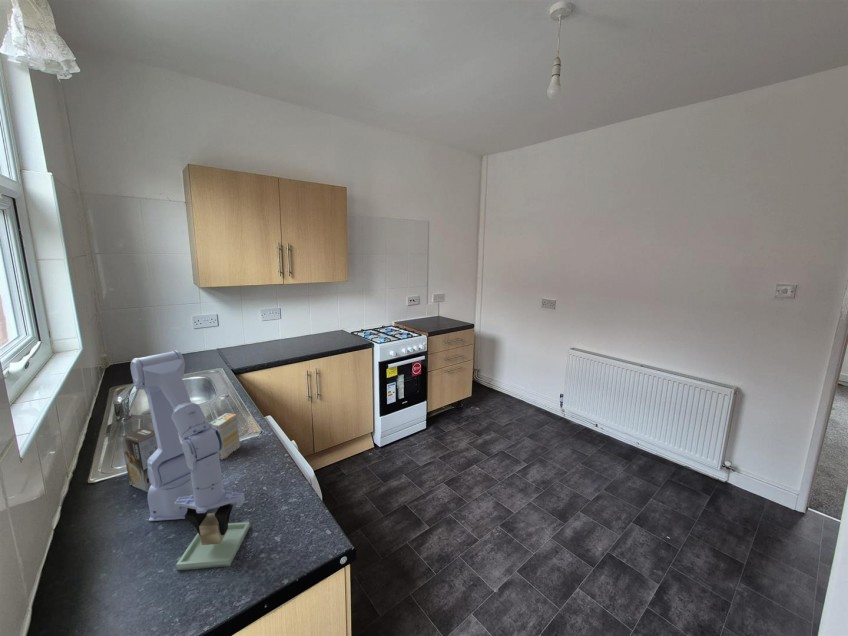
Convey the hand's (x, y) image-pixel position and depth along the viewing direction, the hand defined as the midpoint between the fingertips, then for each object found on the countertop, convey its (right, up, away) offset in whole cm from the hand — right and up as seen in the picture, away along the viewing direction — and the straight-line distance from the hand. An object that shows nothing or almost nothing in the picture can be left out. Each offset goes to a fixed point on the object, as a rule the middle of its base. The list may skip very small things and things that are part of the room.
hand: (214, 532), depth 81 cm
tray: (0, -4, +1) cm, 4 cm away
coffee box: (-35, 0, +24) cm, 42 cm away
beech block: (0, -1, 0) cm, 2 cm away
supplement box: (-20, +3, +39) cm, 44 cm away
